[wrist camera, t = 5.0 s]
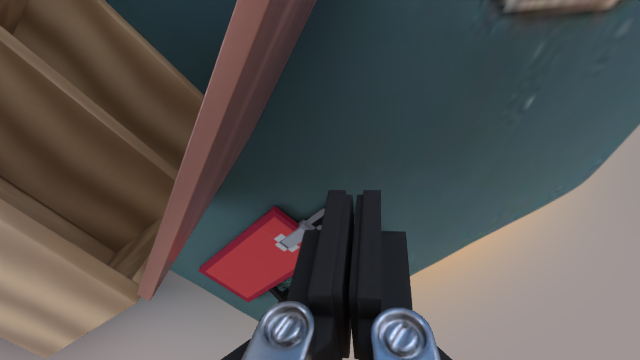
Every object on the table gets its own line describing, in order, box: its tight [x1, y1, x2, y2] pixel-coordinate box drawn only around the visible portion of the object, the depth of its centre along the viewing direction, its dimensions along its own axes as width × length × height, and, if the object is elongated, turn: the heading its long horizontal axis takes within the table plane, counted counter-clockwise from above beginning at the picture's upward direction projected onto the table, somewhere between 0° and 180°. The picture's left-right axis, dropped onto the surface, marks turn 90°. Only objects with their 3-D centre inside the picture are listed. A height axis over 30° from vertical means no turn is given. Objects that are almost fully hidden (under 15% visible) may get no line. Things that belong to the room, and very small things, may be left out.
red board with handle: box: [199, 206, 355, 303], centre depth 54 cm, size 30×3×15 cm
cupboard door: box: [137, 0, 317, 300], centre depth 26 cm, size 6×26×24 cm, turn 151°
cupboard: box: [0, 0, 204, 358], centre depth 33 cm, size 18×26×24 cm
